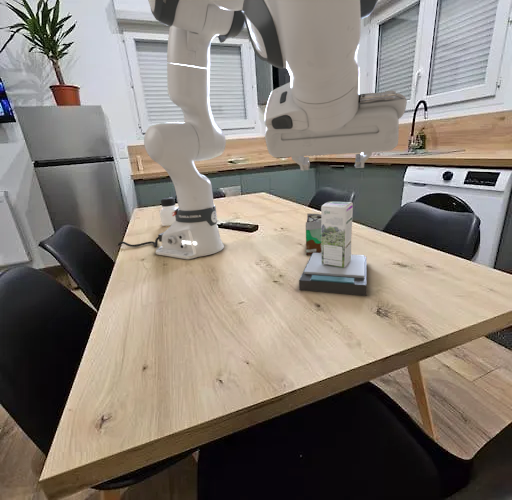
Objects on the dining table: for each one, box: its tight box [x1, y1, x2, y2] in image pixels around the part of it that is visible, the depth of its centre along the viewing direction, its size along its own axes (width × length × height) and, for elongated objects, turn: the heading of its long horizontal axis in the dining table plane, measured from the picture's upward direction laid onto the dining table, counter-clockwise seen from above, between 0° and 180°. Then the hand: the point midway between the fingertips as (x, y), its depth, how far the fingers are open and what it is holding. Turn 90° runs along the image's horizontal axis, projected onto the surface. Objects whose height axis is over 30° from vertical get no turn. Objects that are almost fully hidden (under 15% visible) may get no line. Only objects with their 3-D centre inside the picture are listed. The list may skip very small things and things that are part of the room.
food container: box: [305, 213, 322, 256], centre depth 89 cm, size 12×6×10 cm, turn 168°
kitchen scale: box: [298, 252, 368, 297], centre depth 71 cm, size 14×17×3 cm
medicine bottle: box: [158, 197, 179, 227], centre depth 136 cm, size 7×7×12 cm
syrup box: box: [320, 201, 354, 268], centre depth 69 cm, size 6×6×14 cm
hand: (331, 166), depth 53 cm, fingers open, 8 cm apart
